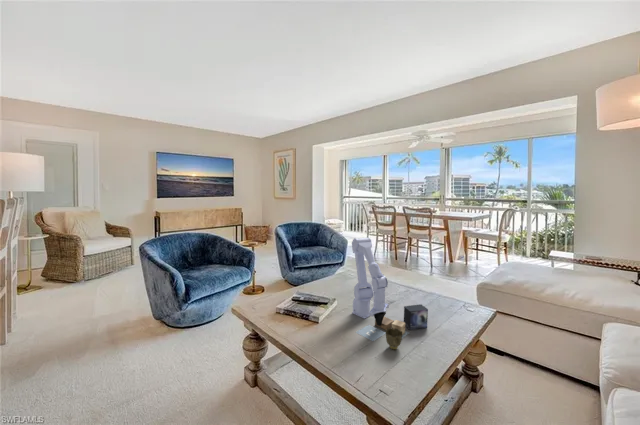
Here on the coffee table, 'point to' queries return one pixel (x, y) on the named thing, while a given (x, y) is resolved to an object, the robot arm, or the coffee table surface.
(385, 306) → the robot arm
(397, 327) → the oak block
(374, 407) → the coffee table surface
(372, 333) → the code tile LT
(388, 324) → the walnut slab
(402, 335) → the code tile
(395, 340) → the cup
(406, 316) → the small box
